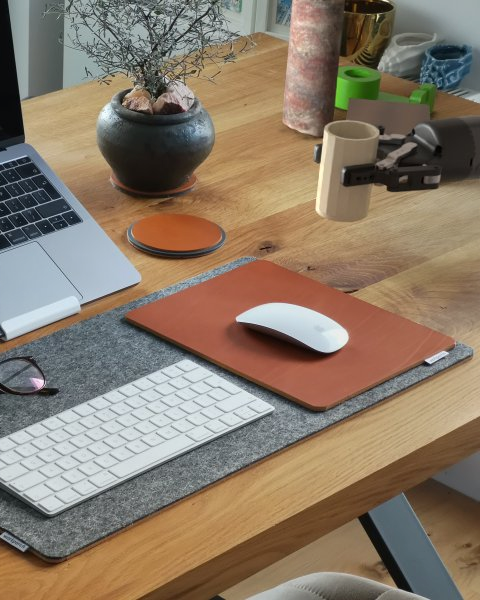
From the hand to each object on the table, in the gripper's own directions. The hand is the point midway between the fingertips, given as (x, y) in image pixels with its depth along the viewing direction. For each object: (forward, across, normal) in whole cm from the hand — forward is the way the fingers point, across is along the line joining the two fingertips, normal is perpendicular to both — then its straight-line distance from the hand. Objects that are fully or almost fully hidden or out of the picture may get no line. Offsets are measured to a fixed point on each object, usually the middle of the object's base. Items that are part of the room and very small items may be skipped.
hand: (328, 165), depth 126 cm
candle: (-15, -34, +11) cm, 39 cm away
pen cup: (-2, 0, +6) cm, 6 cm away
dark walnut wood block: (-20, -21, +10) cm, 31 cm away
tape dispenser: (-29, -39, +11) cm, 50 cm away
